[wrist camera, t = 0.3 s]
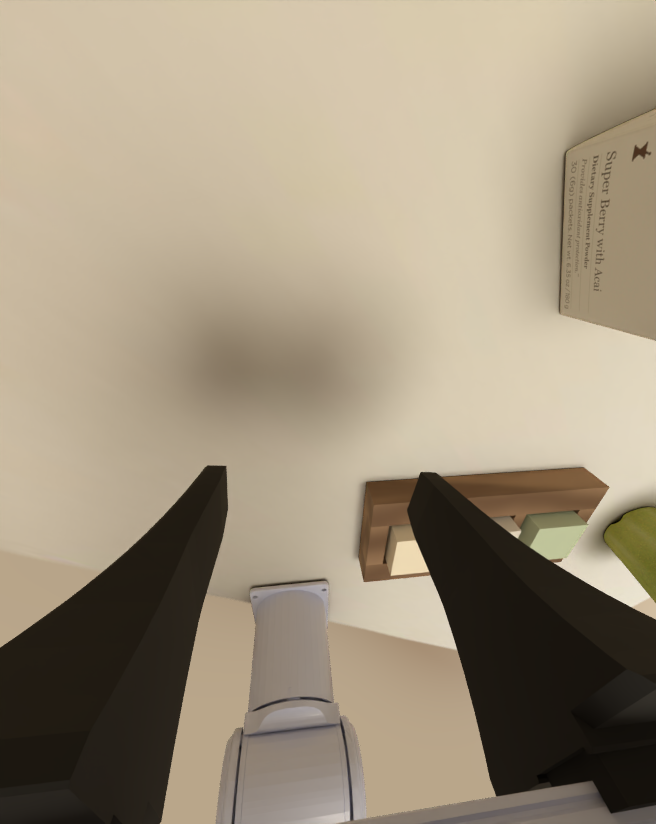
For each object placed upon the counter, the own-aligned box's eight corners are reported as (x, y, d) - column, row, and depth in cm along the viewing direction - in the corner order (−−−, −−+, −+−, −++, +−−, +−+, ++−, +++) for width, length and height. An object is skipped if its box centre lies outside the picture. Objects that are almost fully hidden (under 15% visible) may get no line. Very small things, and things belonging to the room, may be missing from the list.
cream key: (428, 545, 28) (440, 570, 26) (382, 549, 27) (390, 575, 25) (437, 512, 26) (451, 537, 23) (388, 516, 25) (397, 542, 23)
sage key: (545, 534, 29) (566, 557, 27) (503, 538, 29) (521, 562, 26) (564, 502, 27) (588, 524, 25) (519, 505, 26) (539, 529, 24)
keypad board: (542, 540, 32) (560, 561, 30) (358, 557, 30) (363, 582, 27) (583, 467, 27) (609, 487, 25) (366, 482, 25) (373, 505, 22)
